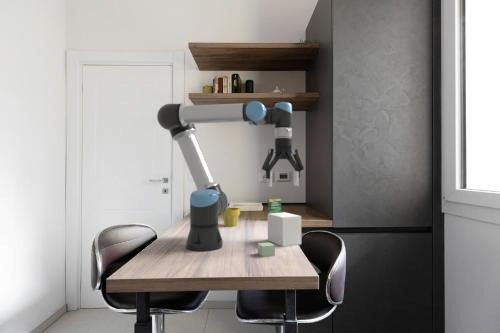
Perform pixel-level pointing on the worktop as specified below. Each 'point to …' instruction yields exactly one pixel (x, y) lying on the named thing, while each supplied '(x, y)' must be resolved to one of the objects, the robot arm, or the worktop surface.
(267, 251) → the block
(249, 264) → the worktop surface
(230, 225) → the plant pot
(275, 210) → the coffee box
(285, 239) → the white upright box
